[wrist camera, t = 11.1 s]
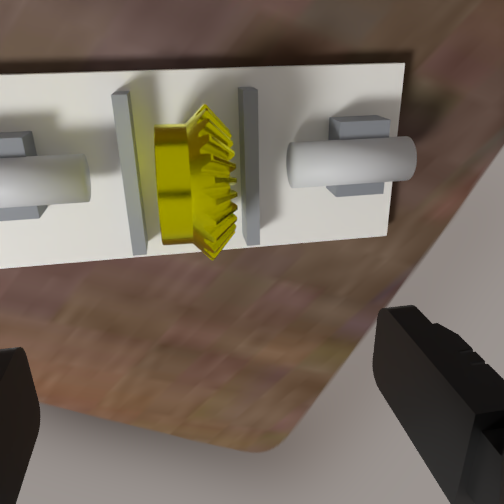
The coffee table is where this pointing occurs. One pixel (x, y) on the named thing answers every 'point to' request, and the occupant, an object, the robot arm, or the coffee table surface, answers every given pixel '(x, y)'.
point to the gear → (195, 182)
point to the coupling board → (246, 159)
